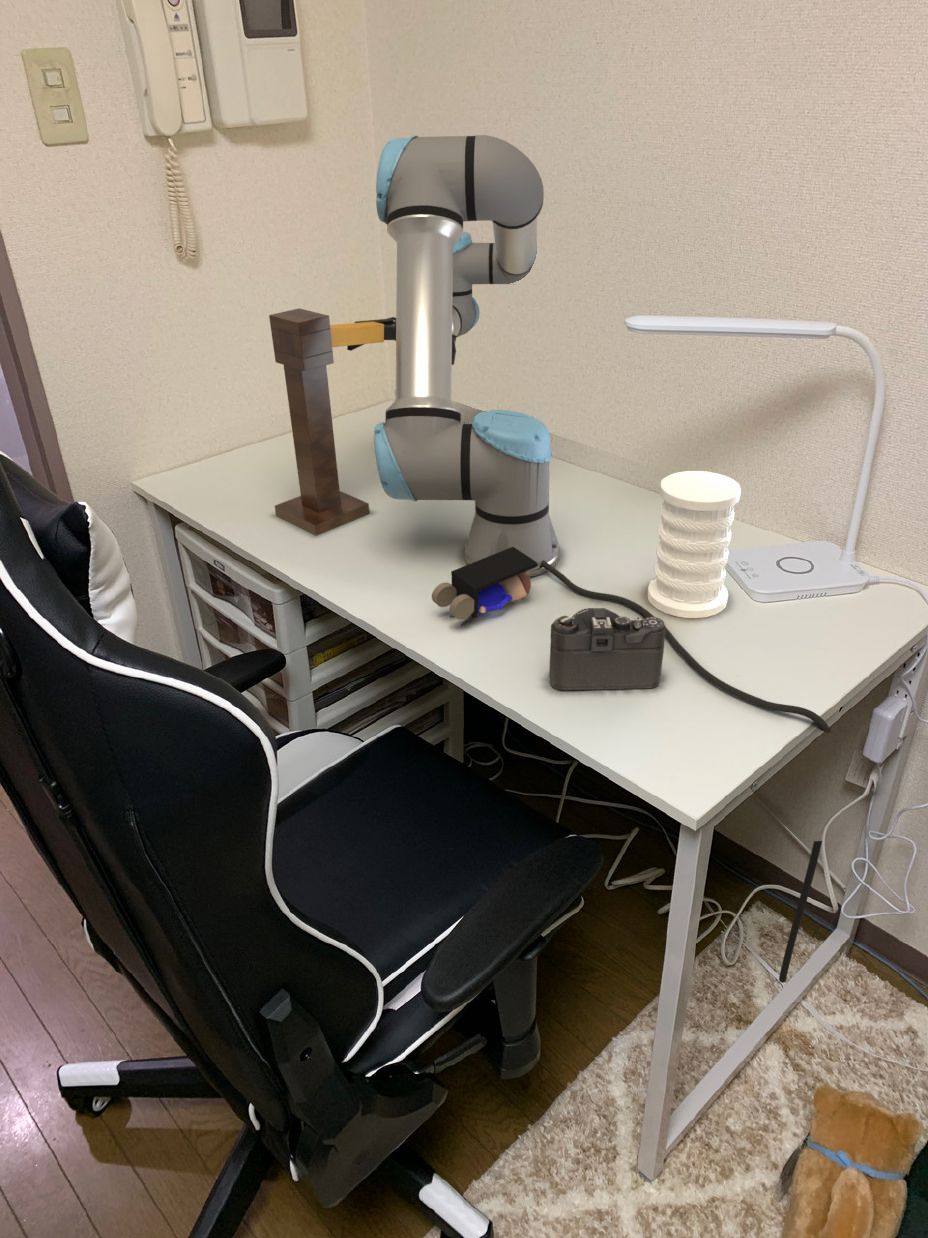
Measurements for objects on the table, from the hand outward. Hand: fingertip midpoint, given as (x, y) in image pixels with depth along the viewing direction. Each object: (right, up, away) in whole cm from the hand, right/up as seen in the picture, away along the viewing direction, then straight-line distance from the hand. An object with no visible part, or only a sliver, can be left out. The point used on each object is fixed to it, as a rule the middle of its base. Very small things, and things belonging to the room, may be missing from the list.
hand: (384, 352), depth 156 cm
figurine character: (+17, -45, -23) cm, 53 cm away
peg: (-7, 0, -5) cm, 9 cm away
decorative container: (+47, -43, -22) cm, 67 cm away
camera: (+32, -53, -37) cm, 72 cm away
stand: (-12, -27, +6) cm, 30 cm away
